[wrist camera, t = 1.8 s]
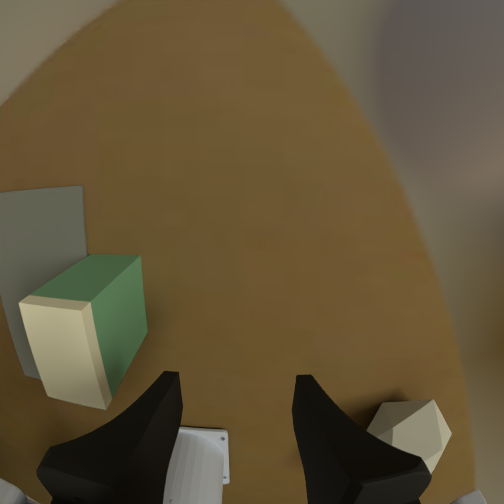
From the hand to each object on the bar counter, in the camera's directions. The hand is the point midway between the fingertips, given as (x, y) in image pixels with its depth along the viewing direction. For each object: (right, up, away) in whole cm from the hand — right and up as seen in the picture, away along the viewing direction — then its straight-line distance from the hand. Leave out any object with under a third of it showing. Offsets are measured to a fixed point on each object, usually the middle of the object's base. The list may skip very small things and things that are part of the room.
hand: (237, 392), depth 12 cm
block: (-9, +3, +9) cm, 13 cm away
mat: (-17, +2, +9) cm, 19 cm away
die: (+14, -10, +14) cm, 22 cm away
